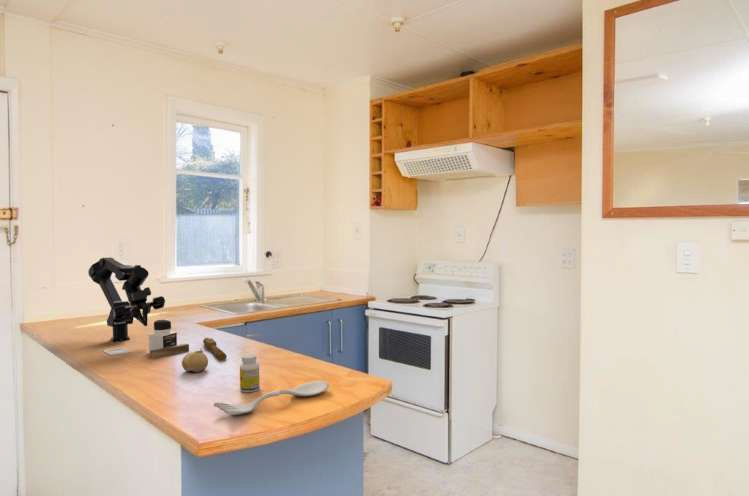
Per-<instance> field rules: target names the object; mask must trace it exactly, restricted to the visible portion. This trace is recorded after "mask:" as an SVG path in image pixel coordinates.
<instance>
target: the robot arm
mask: <svg viewBox="0 0 749 496" xmlns="http://www.w3.org/2000/svg"><path fill="white" fill-rule="evenodd" d="M112 274H114V276H115V278H116V279H117V281H120V282H123V281H124V283H123V284H122V287H121V290H123V291H124V292H125V294H126V297H127V300H128V301H123V300H122V298H121V295H120V294H119V292H118V291H117V288H116V287H115V285H114V282H113V280H112ZM148 276H149V271H148V270H147V269H146V268H145V267H142V266H141V264H136V265H127V264H123V263H121V262H119V261H118V260H116V259H115V258H114V257H112V256H111V257H102V258H100V259H99V260H98V261H97V262H95V263H93V264H92V265H90V267H89V269H88V277H90V278H91V280H92V282H94V283H96V284H98V285H99V287H100V289H101V291H102V292H103V294H104V296H105V298H106V300H107V303H108V305H109V307H110V311H109V315H108V317H107V319H106V324H107V326H108V327H112V337H111V338H110V339H111V341H112V342H117V341H118V342H120V341H127V340H131V337H130V336H129V325H133V323H134V319H136V320H137V321H138V322H139V323H141V325H143V326H144V327H147V326H148V317H149V316H148V314H149V313H151V310H152V308H153V309H154V310H159V309H163V308H164V307H165V303H166V300H165V297H164V296H163V295H161V296H156V297H153V298H152V301H148V299H147V298H148V297H149V296H151V295H152V291H151V287H150V286H148V287H144V288H143V289H142V288H141V286H142V285H144V283H145V282H146V279H148ZM147 301H148V302H147ZM141 310H142V311H141Z"/></svg>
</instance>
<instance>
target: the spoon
mask: <svg viewBox="0 0 749 496" xmlns="http://www.w3.org/2000/svg"><path fill="white" fill-rule="evenodd" d="M329 387H330V385H329V383H328V382H326V380H325V381H324V380H315V381H310V382H307V383H303V384H301V385H298V386H295V387H292V388H290V389H281V390H273V391H271V392H268V393H265V394H263V395H261V396H258V398H255V400H253V401H251V402H248V403H225V402H221V401H220V402H219V401H217V402H214V403H213V407H216V408H218V409H219V410H220V411H223V412H225V413H226V414H229V415H230V416H238V415H244V414H248V413H250V412H252V411H253V410H255V408H256V406H258V405H259V404H260V403H261V402H262V401H264V400H266V399H269V398H273V397H278V396H279V397H280V395H293V396H298V397H312V396H317V395H320V394H323V392H325V391H326V390H328V389H329Z"/></svg>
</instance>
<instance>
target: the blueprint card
mask: <svg viewBox="0 0 749 496" xmlns="http://www.w3.org/2000/svg"><path fill="white" fill-rule="evenodd" d="M102 351H103V352H104V353H106V354H108V355H109V356H117V355H123V354H128V353H131V351H130V350H128V349H127V348H124V347H116V348H111V349H104V350H103V349H102Z"/></svg>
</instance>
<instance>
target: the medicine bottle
mask: <svg viewBox="0 0 749 496" xmlns="http://www.w3.org/2000/svg"><path fill="white" fill-rule="evenodd" d="M177 335H178V332H177V331H172V321H171V320H170V319H165V318H163V319H157V320H155V321H154V322H153V333H149V334H148V353H149V354H150V351H151V350H156V349H161V348H166V347H171V346H176V345H178V341H177V340H178V339H177V338H178V336H177Z"/></svg>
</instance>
